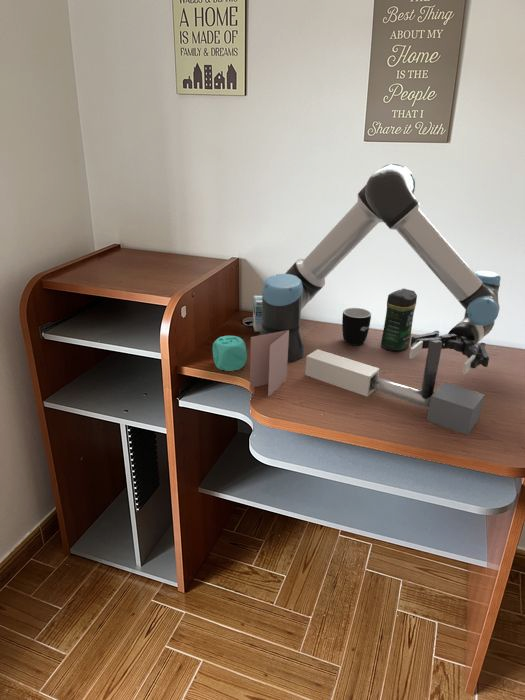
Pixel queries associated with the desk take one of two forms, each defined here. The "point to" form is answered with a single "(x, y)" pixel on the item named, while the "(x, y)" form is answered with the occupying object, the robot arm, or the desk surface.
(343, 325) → the mug
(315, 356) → the elongated cream cuboid
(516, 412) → the desk surface
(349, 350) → the desk surface
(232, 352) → the decorative dice
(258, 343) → the greeting card
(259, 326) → the light bulb box
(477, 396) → the socket block
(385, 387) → the slide bolt
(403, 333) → the coffee jar
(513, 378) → the desk surface
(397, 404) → the desk surface
